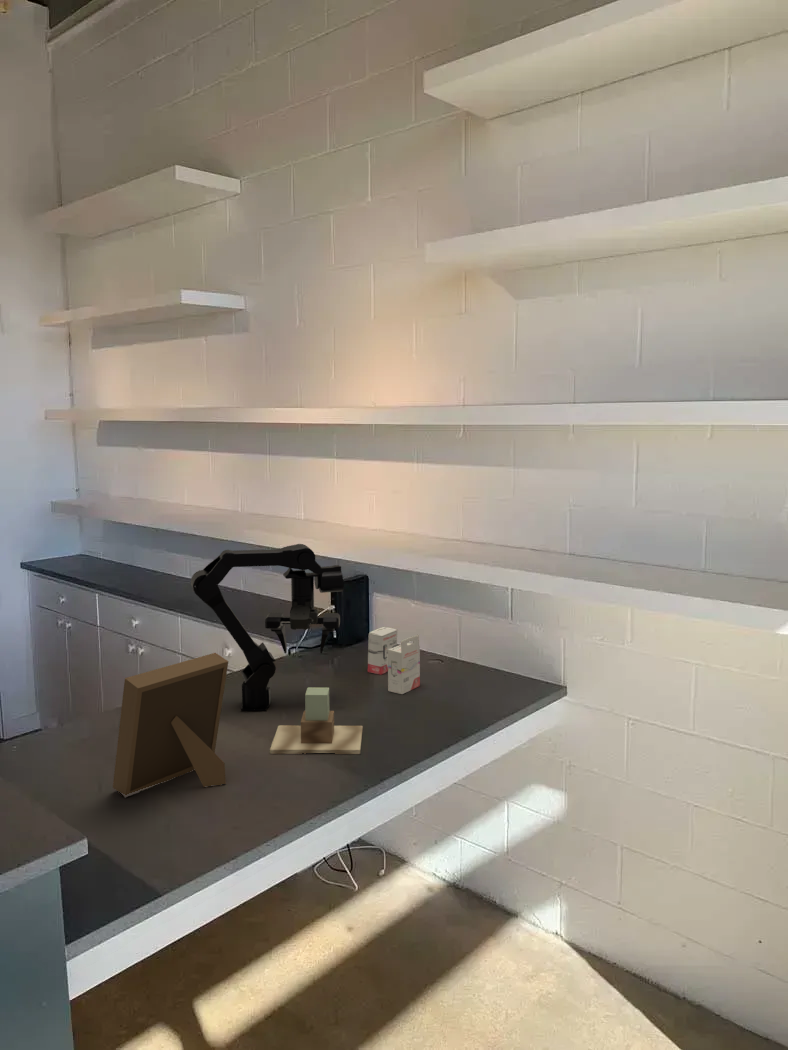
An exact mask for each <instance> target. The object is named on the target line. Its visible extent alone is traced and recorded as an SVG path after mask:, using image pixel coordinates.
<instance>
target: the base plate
mask: <svg viewBox="0 0 788 1050" xmlns="http://www.w3.org/2000/svg"><path fill="white" fill-rule="evenodd" d="M363 728H364V727H363V725H335V710H329V717H328V721H318V720H306V716H305V710H303V713H302V716H301V719H300V725H290V724H289V725H286V724H285V725H277V729H276V730H275V731H276V732H275V735H274V737H273V739H272V742H271V745H270V746H271V747H269V754H270V755H307V754H306V753H335V754H334V755H361V749H362V742H363V741H362V738H363V730H364V729H363ZM302 753H304V754H302Z"/></svg>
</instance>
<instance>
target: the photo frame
mask: <svg viewBox="0 0 788 1050" xmlns="http://www.w3.org/2000/svg"><path fill="white" fill-rule="evenodd" d="M228 667H229V661H228V660H227V659H226V658H224V657H222V656H221V655H219V654H218V653H217V652H213V653H210V654H205V655H202V656H198V657H196V658H192V659H188V660H184V661H181V662H177V663H174V664H170V665H166V666H163V667H160V668H156V669H152V670H149V671H146V672H142V673H137V674H135V675H130V676H128V677H125V678H124V682H123V684H124V685H123V692H122V701H121V710H120V719H119V726H118V727H119V729H118V737H117V743H116V744H117V747H116V755H115V764H114V774H113V783H112V788H113V789H114V790H115V789H116V790H117V791H119V792H121V793H123V794H125V795H127V794H129V793H132V792H135V791H138V790H140V789H143V788H146V787H149V786H152V785H155V784H158V783H161V782H164V781H167V780H169V781H171V780H170V779H172V778H174V777H177V778H179V777H181V776H180V775H182V776H184V775H186V774H185V773H187V772H189V773H191V772H193V771H192V770H194V769H195V770H194V771H195V773H196V775H197V776H198V779H199V781H200V782H201V785H202V787H203V788H204V787H205V786H211V785H220V786H222V785H221V784H226V785H227V782H226V781H227V779H226V767H225V766H226V765H225V762H224V761H223V760H222V759H221V758H220V757H219V756H218V755H217V754H216V753H215V752H216V747H217V739H218V734H219V727H220V720H221V714H222V713H221V712H222V706H223V700H224V695H225V687H226V686H225V685H226V680H227V673H228ZM190 771H191V772H190ZM183 774H184V775H183ZM187 774H188V773H187ZM178 776H179V777H178ZM174 779H175V778H174ZM172 780H173V779H172ZM167 782H168V781H167ZM164 783H165V782H164ZM116 790H115V791H116ZM117 791H116V792H117ZM119 792H118V793H119Z"/></svg>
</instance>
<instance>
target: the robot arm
mask: <svg viewBox="0 0 788 1050" xmlns="http://www.w3.org/2000/svg"><path fill="white" fill-rule="evenodd" d="M275 566H276V567H279V566H280V567H285V568H287V570H286V571H285V572H284V573H283V574H282V575H283V577H284V578H285V579H287V580H288V579H290V587H291V590H290V591H291V593H290V594H291V595H290V596H291V597H290V598H291V607H290V611H289V616H284V613H283V612H269V613H268V614H267V616H266V617H265V620H264V628H265V629H268V630H270V632H273V633H275V634H276V636H277V637H278V639H279V642H280V645H281V647H282V650H283V653H284V654H287V653H288V652H287V651H288V649H287V648H288V644H287V635H286V633H287V632H286V626H285V625H290V629H291V630H294V631H295V630H304V631H305V630H306V631H307V630H309V629H310V628H311V625H322V629H321V639H320V647H319V649H320V650H319V651H320V653H319V654H320V655H321V654H323V651H324V648H325V644H326V641H327V639H328V637H329V634H330V633H332V632H335V630H338V629H340V624H341V615H340V614H339V613H338V612H324V614H323V616H319V612H318V609H317V608H316V609H315V589H316V590H319V592H320V593H321V594H323V593H324V594H326V593H335V592H336V593H337V592H343V591H344V588H345V587H344V586H345V580H344V577H343V573H342V566H341V565H339V564H336V565H335V564H334V565H330V566H321V565H320V564H319V563H318V562H317V561H316V554H315V552H314V551H313V550H312V549H311V547H309V546H307V545H306V544H302V543H297V544H292V545H286V546H284V547H280V548H276V549H274V548H273V549H244V550H243V549H241V550H231V549H225V550H223V551H221V552H220V554H219V555H217V557H215V559H213V560H212V561H210V563H208V564H207V565H206V566H205V567H204V568H203V569H199V570H198V571H195V572H194V573H193V575H191V578H190V585H191V589H193V592H194V594H195V595H196V596H197V597H198V598H199V599H200V600H201V601H202V602H203V603H204V604H205V605H207V606H208V607H209V608H211V610H212V611H213V612H214V613H215V615H216V616H217V617H218V619H219V620H220V622H221V623H222V624H223V626H224V627H225V629H226V631H228V633H229V635H230V636H231V637H232V638H233V640H234V641H235V642H236V644H237V645H238V647H239V648H240V649H241V651H242V653H243V655H244V656H245V659H246V662H247V665H246V666H245V667H244V668H243V669H242V670H241V671H240V674H241V675H242V679H243V682H242V684H241V707H240V711H242V712H243V711H247V712H248V711H252V712H253V711H255V712H256V711H259V712H260V711H261V712H263V711H267V710H268V707H269V706H270V704H271V701H272V700H271V698H272V697H271V687H269V682H270V679H272V677H274V675H275V674H276V669H277V668H276V665H275V662H276V659H275V657H274V655H273V654H272V652H270V651H269V649H268V648H267V647H266V644H265V643H264V641H263V642H261V643H260V644H257V642H255V641H254V640H253V638H252V637H251V635H250V633H249V632H248V631H247V630H246V628H245V627H244V625H243V624H242V623H241V621H240V620H239V618H238V617H237V615H235V613H234V612H233V610H232V608H231V607H230V606H229V604H228V603H227V601H226V600H225V598H224V596H223V594H222V590H221V589H220V587H219V584H221V582H223V580H224V579H225V577H226V576H227V575H228V574H229V572H231V570H232V569H233V568H246V567H248V568H249V567H275ZM306 570H308V571H310V572H306Z"/></svg>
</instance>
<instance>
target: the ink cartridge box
mask: <svg viewBox="0 0 788 1050" xmlns="http://www.w3.org/2000/svg"><path fill="white" fill-rule="evenodd" d="M419 635H420V634H417V635H413V636H411V637H408V638H406V639H405V638H404V639H403V640H401V641H400V644H399V645H397V646H396V647H393V648H391V649H388V672H387V686H388V687H387V690H388V692H390V693H395V694H399V695H403V694H405V693H408V692H410V691H412V690H415V689H417V688H419V687H420V686H421V684H420V683H421V681H420V679H421V678H420V677H421V674H420V673H421V668H420V667H421V661H420V659H421V658H420V657H421V654H420V653H421V649H420V648H421V646H420V636H419ZM411 642H412V643H411Z"/></svg>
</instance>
